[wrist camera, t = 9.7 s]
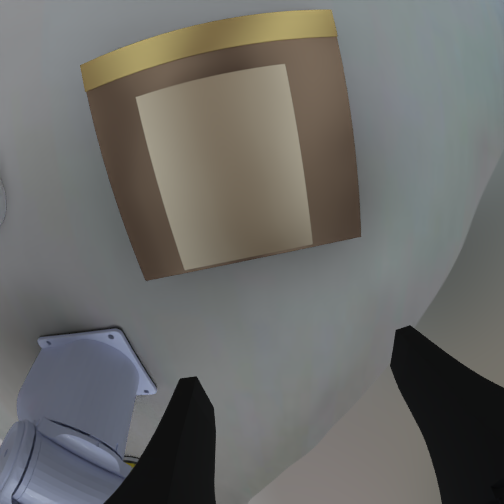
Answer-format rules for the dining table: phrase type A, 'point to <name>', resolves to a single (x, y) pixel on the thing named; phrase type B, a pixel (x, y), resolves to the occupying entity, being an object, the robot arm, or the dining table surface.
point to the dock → (215, 63)
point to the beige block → (228, 165)
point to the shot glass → (2, 203)
